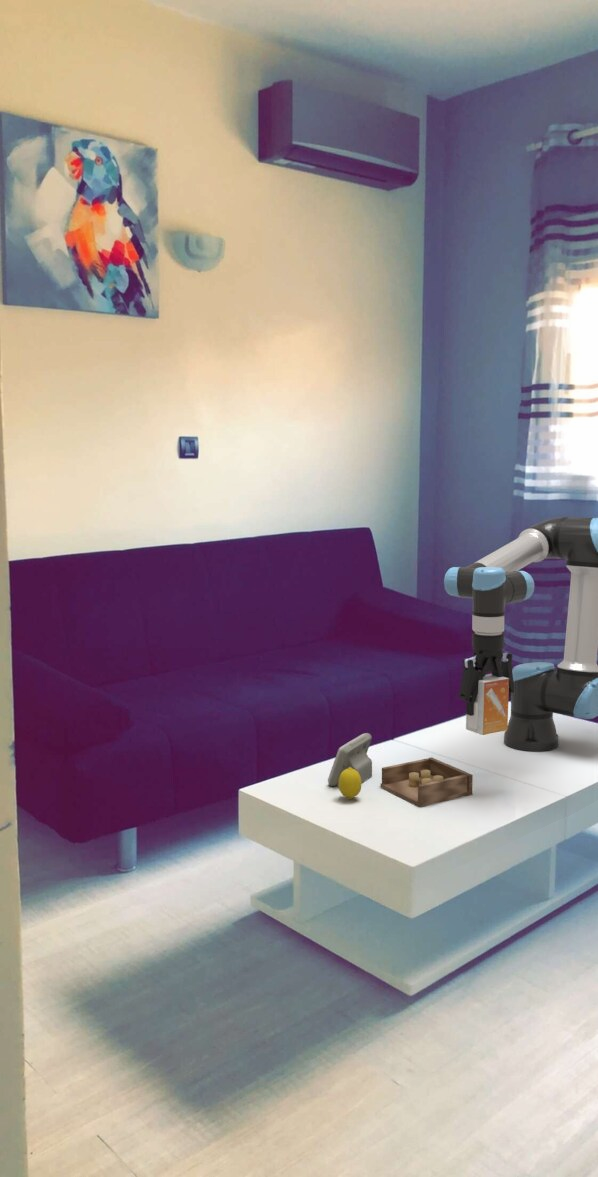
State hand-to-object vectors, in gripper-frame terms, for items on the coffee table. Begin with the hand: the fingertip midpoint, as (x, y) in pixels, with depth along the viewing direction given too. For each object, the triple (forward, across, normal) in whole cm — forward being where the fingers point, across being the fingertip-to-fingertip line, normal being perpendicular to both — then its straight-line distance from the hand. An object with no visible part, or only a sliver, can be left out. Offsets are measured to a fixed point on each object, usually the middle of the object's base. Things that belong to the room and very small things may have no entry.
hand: (486, 725), depth 233 cm
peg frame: (+17, +11, -9) cm, 22 cm away
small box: (+1, 0, 0) cm, 1 cm away
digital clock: (+18, +22, -27) cm, 39 cm away
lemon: (+17, +30, -15) cm, 38 cm away
